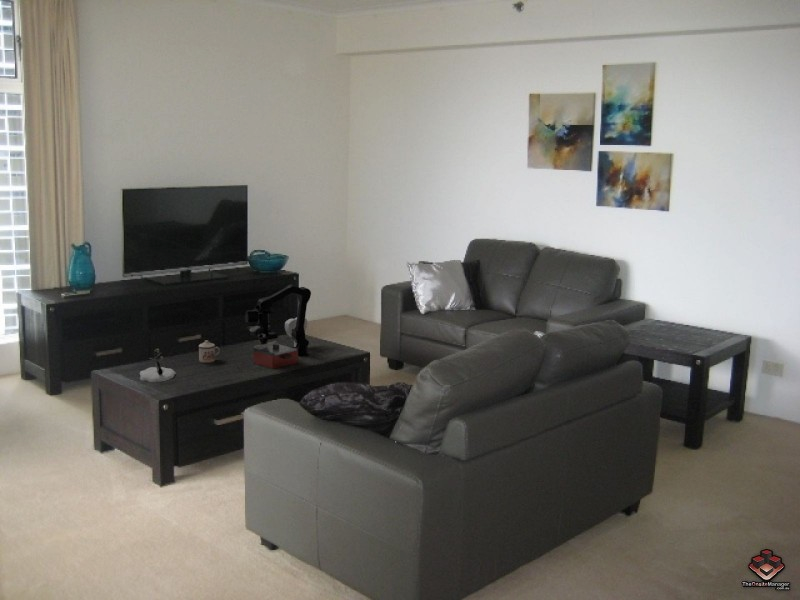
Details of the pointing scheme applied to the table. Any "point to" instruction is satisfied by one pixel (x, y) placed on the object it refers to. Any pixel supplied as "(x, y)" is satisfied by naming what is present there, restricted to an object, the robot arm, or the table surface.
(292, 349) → the lid
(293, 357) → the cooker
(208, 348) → the teacup with lid
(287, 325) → the heart sculpture
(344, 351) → the table surface
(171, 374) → the figurine
